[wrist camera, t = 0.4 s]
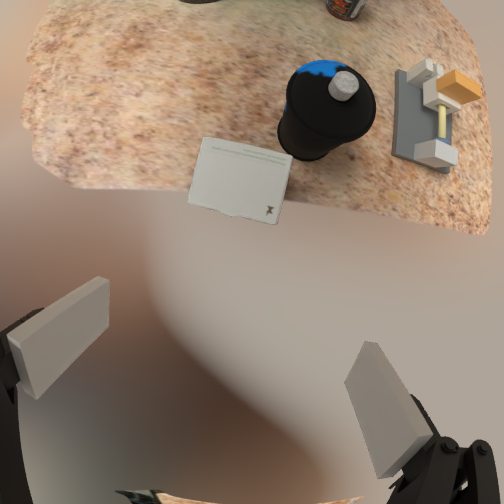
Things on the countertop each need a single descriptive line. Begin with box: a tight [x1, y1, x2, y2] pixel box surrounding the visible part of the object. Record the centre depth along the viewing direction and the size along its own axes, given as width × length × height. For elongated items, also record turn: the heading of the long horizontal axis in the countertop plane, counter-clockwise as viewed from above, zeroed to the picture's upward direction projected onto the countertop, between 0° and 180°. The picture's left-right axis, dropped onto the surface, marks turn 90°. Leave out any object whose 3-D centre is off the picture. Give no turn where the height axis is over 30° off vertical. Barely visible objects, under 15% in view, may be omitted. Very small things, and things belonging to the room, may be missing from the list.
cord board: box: [391, 58, 458, 173], centre depth 29 cm, size 15×11×8 cm
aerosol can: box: [277, 60, 376, 161], centre depth 26 cm, size 8×8×20 cm
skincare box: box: [187, 136, 293, 225], centre depth 30 cm, size 8×7×16 cm
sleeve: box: [423, 69, 482, 115], centre depth 24 cm, size 4×5×9 cm
